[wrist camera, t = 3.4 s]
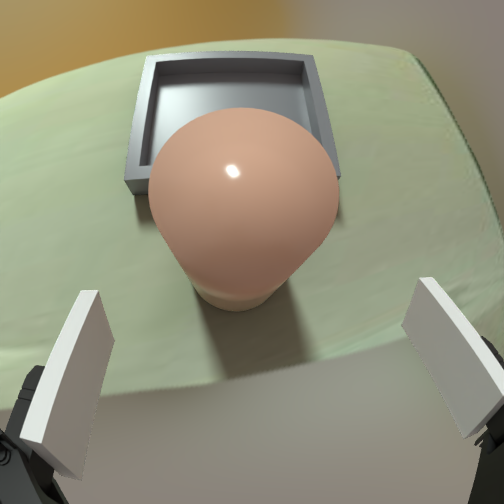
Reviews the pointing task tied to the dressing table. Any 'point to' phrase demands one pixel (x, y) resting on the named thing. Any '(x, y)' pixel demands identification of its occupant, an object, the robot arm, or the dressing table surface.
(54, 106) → the dressing table surface
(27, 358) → the dressing table surface
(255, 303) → the peach domed cylinder
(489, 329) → the dressing table surface
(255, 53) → the tray
